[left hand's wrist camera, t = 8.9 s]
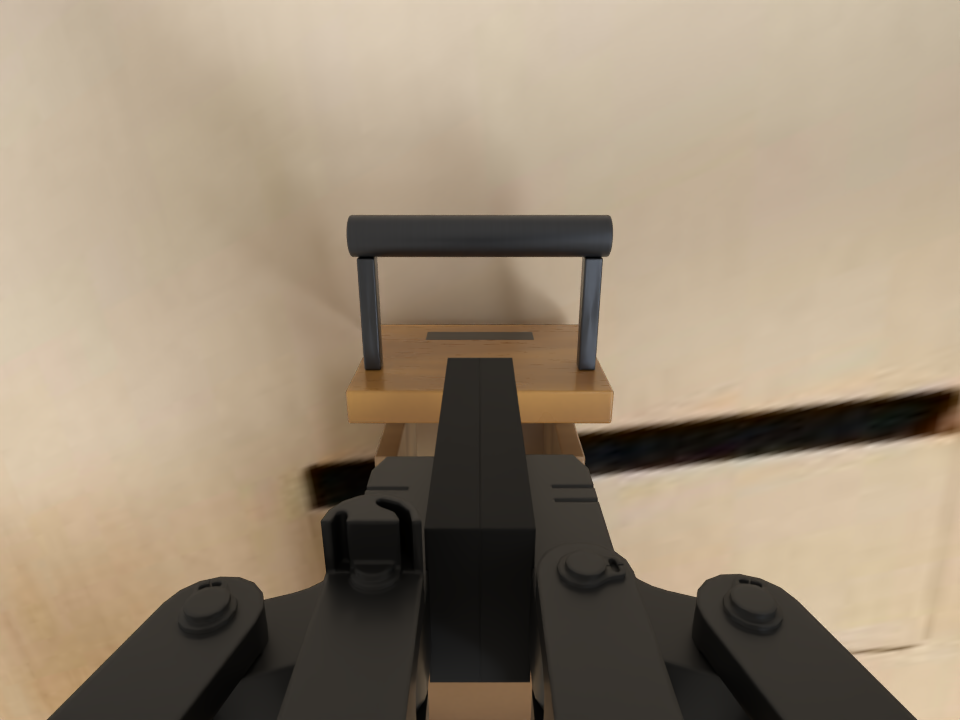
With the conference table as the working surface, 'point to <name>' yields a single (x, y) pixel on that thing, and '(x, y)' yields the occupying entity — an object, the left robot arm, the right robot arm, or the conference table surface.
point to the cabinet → (480, 700)
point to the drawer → (479, 332)
